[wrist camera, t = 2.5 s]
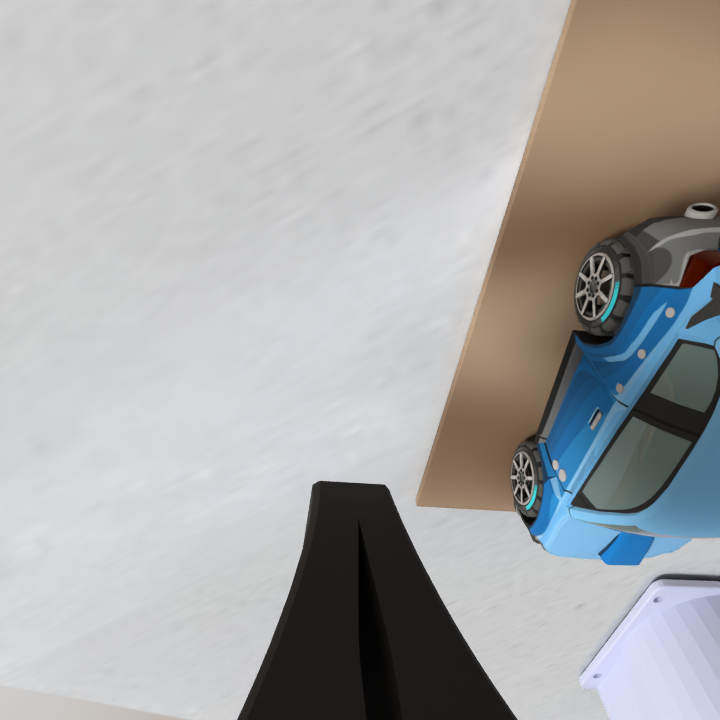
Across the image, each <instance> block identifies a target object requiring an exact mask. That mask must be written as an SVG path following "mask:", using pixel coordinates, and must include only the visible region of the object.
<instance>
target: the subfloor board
mask: <svg viewBox="0 0 720 720" xmlns="http://www.w3.org/2000/svg"><path fill="white" fill-rule="evenodd" d="M695 203H709V204H713V205H715V206H716V207H717V208H718V212H717V214H716V216H720V0H572V1H571V4H570V8H569V11H568V14H567V17H566V20H565V24H564V27H563V30H562V33H561V36H560V40H559V43H558V46H557V49H556V52H555V56H554V59H553V62H552V65H551V68H550V72H549V75H548V78H547V81H546V84H545V88H544V91H543V94H542V97H541V100H540V104H539V107H538V110H537V113H536V116H535V120H534V123H533V126H532V129H531V132H530V136H529V139H528V142H527V145H526V149H525V152H524V155H523V158H522V161H521V165H520V168H519V171H518V174H517V177H516V181H515V184H514V187H513V190H512V193H511V197H510V200H509V203H508V206H507V209H506V213H505V216H504V219H503V222H502V225H501V229H500V232H499V235H498V238H497V241H496V245H495V248H494V251H493V254H492V257H491V261H490V264H489V267H488V270H487V273H486V277H485V280H484V283H483V286H482V289H481V293H480V296H479V299H478V302H477V305H476V309H475V312H474V315H473V318H472V322H471V325H470V328H469V331H468V334H467V338H466V341H465V344H464V347H463V350H462V354H461V357H460V360H459V363H458V366H457V370H456V373H455V376H454V379H453V382H452V386H451V389H450V392H449V395H448V398H447V402H446V405H445V408H444V411H443V414H442V418H441V421H440V424H439V427H438V430H437V434H436V437H435V440H434V443H433V446H432V450H431V453H430V456H429V459H428V462H427V466H426V469H425V472H424V475H423V478H422V482H421V485H420V488H419V491H418V494H417V498H416V504H417V506H422V507H441V508H459V509H477V510H495V511H513V512H516V510H515V507H514V498H513V493H512V489H511V479H510V471H511V463H512V459H513V456H514V453H515V451H516V449H517V447H518V446H519V445H520V444H521V443H522V442H524V441H527V440H531V441H534V438H535V436H536V433H537V430H538V427H539V424H540V421H541V419H542V416H543V413H544V410H545V407H546V404H547V401H548V399H549V396H550V393H551V390H552V387H553V384H554V382H555V379H556V376H557V373H558V370H559V367H560V365H561V362H562V359H563V356H564V353H565V350H566V347H567V345H568V342H569V339H570V336H571V333H572V330H580V331H586V330H585V329H584V328H582V326H581V323H579V321H578V318H577V315H576V313H575V306H574V288H575V281H576V277H577V273H578V271H579V268H580V265H581V263H582V261H583V259H584V257H585V255H587V254H588V252H589V250H590V249H591V248H592V247H593V246H595V245H596V244H597V243H599V242H602V241H603V240H605V239H619V238H620V237H621V236H622V235H623V234H625V233H626V232H627V231H629V230H630V229H632V228H634V227H635V226H637V225H639V224H640V223H642V222H644V221H646V220H647V219H649V218H654V217H664V216H684V214H685V212H686V210H687V208H688V207H689V206H690V205H692V204H695ZM619 240H620V239H619ZM620 241H621V240H620Z"/></svg>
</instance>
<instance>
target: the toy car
mask: <svg viewBox="0 0 720 720" xmlns="http://www.w3.org/2000/svg"><path fill="white" fill-rule="evenodd" d="M717 212H718V208H717V207H716V206H715V205H713V204H709V203H695V204H692V205H690V206H689V207H688V208H687V210H686V212H685V214H684V216H664V217H654V218H649V219H647V220H646V221H644V222H642V223H640V224H639V225H637V226H635V227H634V228H632V229H630V230H629V231H627V232H626V233H625V234H623V235H622V236H621V237H620V238H619V239H620V240H621V241H620V240H619V239H605V240H603V241H602V242H599V243H597V244H596V245H595V246H593V247H592V248H591V249H590V250H589V252H588V254H587V255H585V257H584V259H583V261H582V263H581V265H580V268H579V271H578V273H577V277H576V281H575V288H574V306H575V313H576V315H577V318H578V321H579V323H581V326H582V328H584V329H585V330H586V331H580V330H572V333H571V336H570V339H569V342H568V345H567V347H566V350H565V353H564V356H563V359H562V362H561V365H560V367H559V370H558V373H557V376H556V379H555V382H554V384H553V387H552V390H551V393H550V396H549V399H548V401H547V404H546V407H545V410H544V413H543V416H542V419H541V421H540V424H539V427H538V430H537V433H536V436H535V438H534V441H531V440H527V441H524V442H522V443H521V444H520V445H519V446H518V447H517V449H516V451H515V453H514V456H513V459H512V463H511V471H510V479H511V489H512V493H513V498H514V507H515V510H516V512H517V513H518V515H520V516H521V518H522V520H523V522H524V524H525V525H526V527H527V528H528V530H529V532H530V535H531V537H532V540H533V541H534V542H536V543H538V544H541V546H542V547H543V549H544V550H546V551H547V552H549V553H550V554H553V555H556V556H559V557H571V558H583V559H600V560H603V561H604V562H605V563H606V564H607V565H639V564H640V562H641V561H642V559H643V558H648V557H654V556H657V555H660V554H663V553H671V552H673V551H675V550H677V549H679V548H681V547H682V546H683V545H685V544H686V543H688V542H689V541H691V540H692V539H717V538H720V216H716V214H717Z"/></svg>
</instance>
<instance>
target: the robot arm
mask: <svg viewBox="0 0 720 720" xmlns="http://www.w3.org/2000/svg"><path fill="white" fill-rule="evenodd" d="M579 682H580V685H581V687H582V688H584V689H597V690H598V693H599V695H600V697H601V700H602V702H603V705H604V707H605V710H606V712H607V715H608V717H609V719H610V720H720V581H699V580H673V579H660V580H657V581H655V582H653V583H652V584H651V585H650V586H649V587H648V589H647V590H646V591H645V593H644V594H643V595H642V597H641V598H640V599H639V601H638V602H637V603H636V604H635V606H634V607H633V608H632V610H631V611H630V612H629V614H628V615H627V616H626V617H625V619H624V620H623V621H622V623H621V624H620V625H619V627H618V628H617V629H616V631H615V632H614V633H613V634H612V636H611V637H610V638H609V640H608V641H607V642H606V644H605V645H604V646H603V648H602V649H601V650H600V651H599V653H598V654H597V655H596V657H595V658H594V659H593V661H592V662H591V663H590V665H589V666H588V667H587V668H586V670H585V671H584V672H583V674H582V675H581V676H580V678H579ZM237 720H518V719H517V718H516V717H515V715H514V714H513V713H512V711H511V710H510V708H509V707H508V705H507V704H506V702H505V701H504V699H503V698H502V696H501V695H500V694H499V692H498V691H497V689H496V688H495V686H494V685H493V683H492V682H491V680H490V679H489V677H488V676H487V674H486V673H485V671H484V670H483V668H482V666H481V665H480V663H479V662H478V660H477V659H476V657H475V655H474V654H473V652H472V651H471V649H470V647H469V646H468V644H467V642H466V641H465V639H464V637H463V636H462V634H461V632H460V631H459V629H458V627H457V626H456V624H455V622H454V621H453V619H452V617H451V615H450V614H449V612H448V610H447V608H446V607H445V605H444V603H443V601H442V600H441V598H440V596H439V594H438V592H437V590H436V588H435V587H434V585H433V583H432V581H431V579H430V577H429V575H428V573H427V572H426V570H425V568H424V566H423V564H422V562H421V560H420V558H419V556H418V554H417V552H416V550H415V548H414V546H413V544H412V542H411V539H410V537H409V535H408V533H407V531H406V529H405V527H404V524H403V522H402V520H401V518H400V515H399V513H398V511H397V508H396V506H395V504H394V501H393V499H392V496H391V494H390V491H389V489H388V488H387V487H386V486H385V485H381V484H364V483H346V482H329V481H319V482H317V483H315V484H313V486H312V492H311V499H310V505H309V512H308V519H307V525H306V532H305V538H304V545H303V550H302V553H301V557H300V560H299V563H298V566H297V570H296V573H295V576H294V580H293V583H292V586H291V589H290V592H289V595H288V598H287V600H286V603H285V606H284V608H283V611H282V614H281V617H280V619H279V622H278V625H277V627H276V630H275V633H274V635H273V638H272V641H271V643H270V646H269V648H268V650H267V653H266V655H265V658H264V660H263V663H262V665H261V667H260V670H259V672H258V674H257V677H256V679H255V681H254V684H253V686H252V688H251V690H250V693H249V695H248V697H247V699H246V702H245V704H244V706H243V708H242V711H241V713H240V715H239V717H238V719H237Z"/></svg>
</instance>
